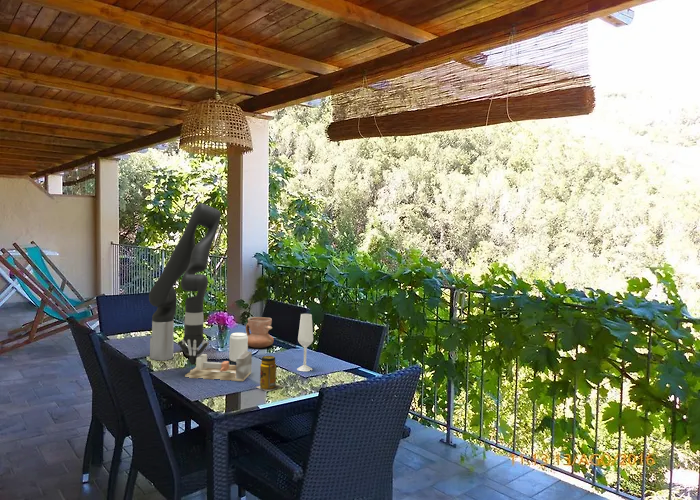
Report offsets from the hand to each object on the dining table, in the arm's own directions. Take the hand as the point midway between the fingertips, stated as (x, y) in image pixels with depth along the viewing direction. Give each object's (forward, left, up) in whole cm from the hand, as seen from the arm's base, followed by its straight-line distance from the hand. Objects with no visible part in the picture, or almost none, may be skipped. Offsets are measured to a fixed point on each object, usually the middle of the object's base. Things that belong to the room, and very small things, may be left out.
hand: (193, 364), depth 226 cm
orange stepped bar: (+14, -2, -2) cm, 14 cm away
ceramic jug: (+14, +52, -4) cm, 54 cm away
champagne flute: (+44, +16, -4) cm, 47 cm away
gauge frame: (+11, 0, -4) cm, 12 cm away
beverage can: (+12, +24, -4) cm, 27 cm away
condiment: (+35, -11, -4) cm, 37 cm away
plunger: (+7, 0, -3) cm, 8 cm away
